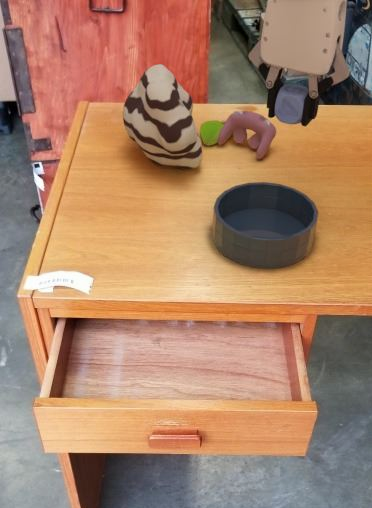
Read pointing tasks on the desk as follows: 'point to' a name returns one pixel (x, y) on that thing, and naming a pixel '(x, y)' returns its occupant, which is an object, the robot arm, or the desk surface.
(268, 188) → the basin
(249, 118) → the video game controller
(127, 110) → the sculpture
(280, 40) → the robot arm
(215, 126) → the decorative leaf
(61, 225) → the desk surface
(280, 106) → the decorative dice
